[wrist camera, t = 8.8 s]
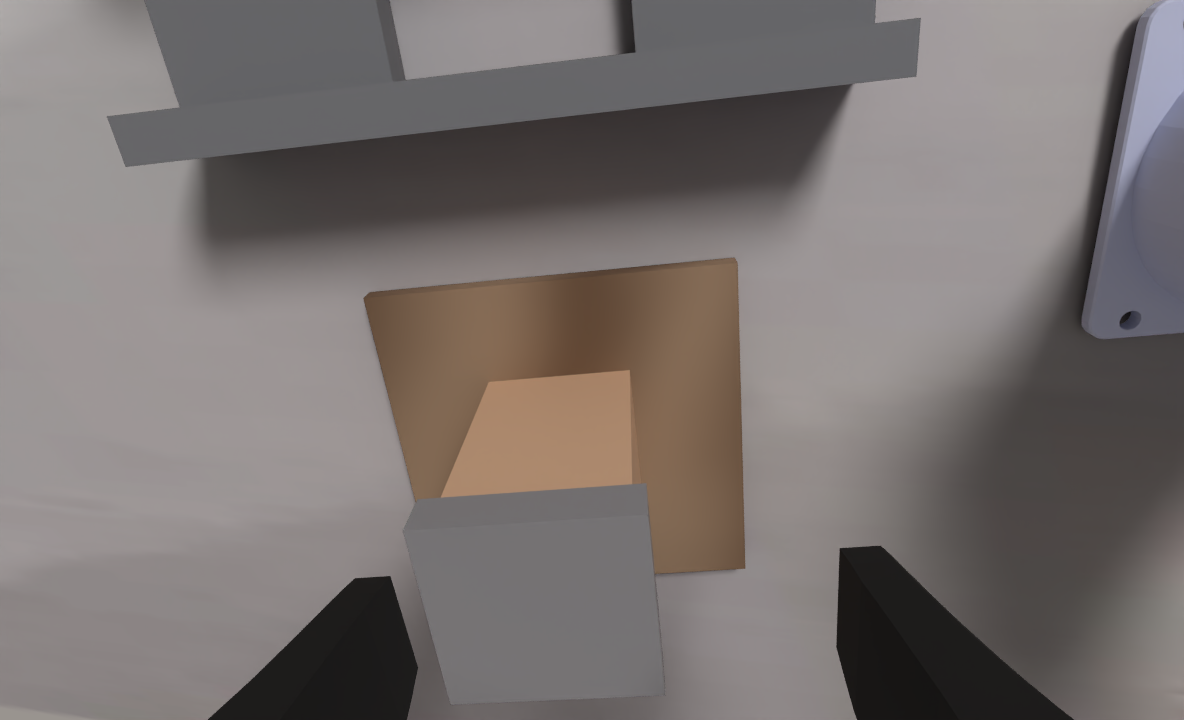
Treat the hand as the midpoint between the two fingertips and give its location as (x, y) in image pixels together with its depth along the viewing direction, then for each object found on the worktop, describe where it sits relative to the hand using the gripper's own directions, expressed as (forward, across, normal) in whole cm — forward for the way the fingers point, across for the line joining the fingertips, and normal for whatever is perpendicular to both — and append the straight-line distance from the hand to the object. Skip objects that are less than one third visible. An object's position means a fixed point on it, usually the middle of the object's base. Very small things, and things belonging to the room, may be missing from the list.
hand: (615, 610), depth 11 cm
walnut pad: (+9, +2, +2) cm, 10 cm away
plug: (+9, +2, +2) cm, 9 cm away
